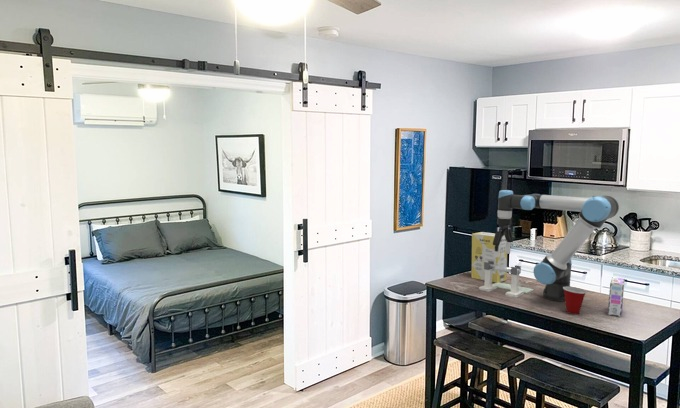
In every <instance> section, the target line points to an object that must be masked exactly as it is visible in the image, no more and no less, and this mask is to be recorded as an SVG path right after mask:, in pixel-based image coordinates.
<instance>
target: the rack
mask: <svg viewBox="0 0 680 408" xmlns="http://www.w3.org/2000/svg"><path fill="white" fill-rule="evenodd" d="M490 264H494V262H493V261H488V262H484V269H485V280H484V285H481V286H479V287H478V290H479V291H483V292H487V293H488V292H492V291H494V290H496V289H498V288H497V286H495V285H492V284H493V282H492V269H490ZM510 267H511V273H510V275H511V280H510V281H511V283H510V285H511V290H508V291H507V292H505V295H504V296H506V297H511V298H518V297H521V296H523V295H524V294H525V293H524V291H519V286H520V274H521V272H522V271H521V270H522V266H521V265H517V264H516V265H514V266H510ZM517 269H520V274H517Z"/></svg>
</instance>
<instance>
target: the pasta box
mask: <svg viewBox="0 0 680 408" xmlns="http://www.w3.org/2000/svg"><path fill="white" fill-rule="evenodd" d="M495 233H496V232H495ZM495 233H492V232H485V231H480V232H475V233H473V232H472V233H471V279H476V280H481V281H485V269H484V262H488V261H493V262H494V265H499V266H505V267H508V254H507V253H505V246H506V242H507V241H506V238H505V235H504V236H503V237H502V239H501V242H500V244H499V246H500V255H499V257H494V250H495V245H493V240H494V237H495ZM507 277H508V272H503V271H497V270H492V283H498V282H500V283H503V282H505V281H507V279H508V278H507Z"/></svg>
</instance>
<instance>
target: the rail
mask: <svg viewBox="0 0 680 408" xmlns="http://www.w3.org/2000/svg"><path fill="white" fill-rule="evenodd" d="M511 267H512V266H510V267H509V266H507V267H505V266H499V265H494V264H490V269H492V270H497V271H503V272H507V274H508V273H509V274H511ZM517 274H519V275H520V274H521V273H520V269H517Z"/></svg>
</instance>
